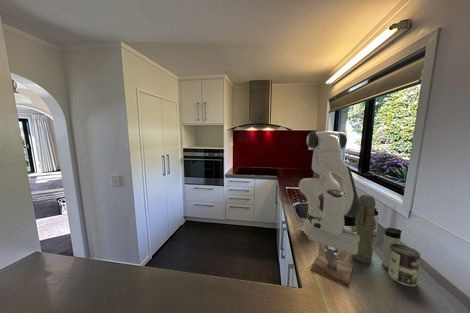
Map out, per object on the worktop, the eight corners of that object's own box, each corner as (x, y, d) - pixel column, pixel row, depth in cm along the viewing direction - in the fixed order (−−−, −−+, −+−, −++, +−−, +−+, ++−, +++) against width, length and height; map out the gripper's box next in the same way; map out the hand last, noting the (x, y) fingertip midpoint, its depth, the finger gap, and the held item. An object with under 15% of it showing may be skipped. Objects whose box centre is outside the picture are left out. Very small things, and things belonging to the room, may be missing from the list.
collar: (323, 243, 99) (324, 234, 98) (347, 251, 92) (348, 242, 92) (316, 256, 87) (317, 246, 87) (343, 266, 80) (344, 255, 80)
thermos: (349, 259, 101) (355, 196, 98) (354, 250, 109) (359, 192, 107) (369, 267, 95) (375, 200, 92) (373, 257, 103) (379, 195, 100)
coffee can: (420, 282, 85) (424, 252, 84) (411, 289, 80) (414, 258, 79) (393, 268, 94) (396, 241, 93) (383, 274, 89) (386, 246, 88)
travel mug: (401, 272, 92) (405, 232, 90) (386, 269, 93) (389, 231, 92) (393, 264, 98) (397, 227, 96) (379, 262, 99) (382, 225, 98)
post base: (318, 255, 103) (320, 235, 102) (352, 268, 93) (354, 246, 93) (310, 270, 91) (312, 247, 90) (348, 286, 81) (350, 261, 80)
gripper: (360, 230, 80) (358, 261, 81) (311, 218, 93) (310, 244, 94) (359, 236, 75) (356, 268, 76) (307, 222, 88) (306, 250, 89)
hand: (330, 255), depth 85 cm, fingers closed on collar, 3 cm apart
